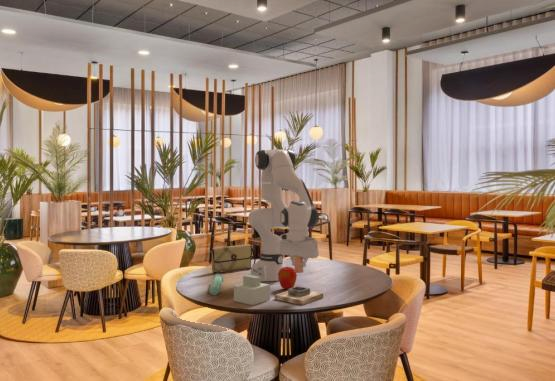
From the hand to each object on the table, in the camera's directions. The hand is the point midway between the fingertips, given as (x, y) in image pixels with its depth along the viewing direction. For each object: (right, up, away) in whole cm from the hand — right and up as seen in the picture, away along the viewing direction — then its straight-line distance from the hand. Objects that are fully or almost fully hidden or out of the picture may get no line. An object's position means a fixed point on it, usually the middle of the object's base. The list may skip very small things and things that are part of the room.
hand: (298, 266), depth 217 cm
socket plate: (0, -15, +1) cm, 15 cm away
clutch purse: (-36, -14, +65) cm, 76 cm away
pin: (0, -3, 0) cm, 3 cm away
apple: (-5, -15, +18) cm, 24 cm away
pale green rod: (-41, -15, +20) cm, 48 cm away
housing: (-22, -15, -2) cm, 27 cm away
